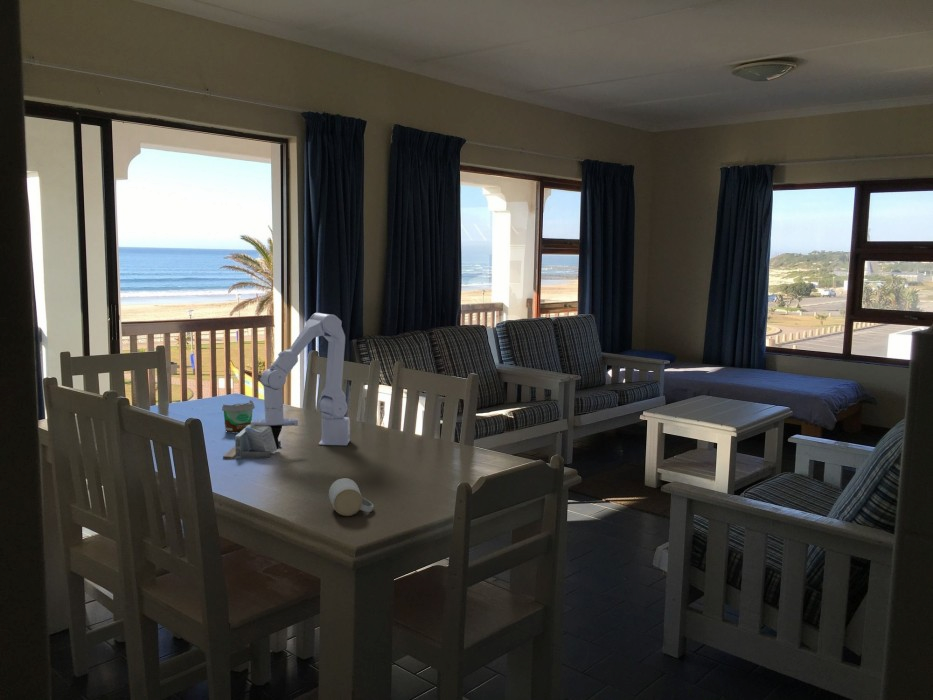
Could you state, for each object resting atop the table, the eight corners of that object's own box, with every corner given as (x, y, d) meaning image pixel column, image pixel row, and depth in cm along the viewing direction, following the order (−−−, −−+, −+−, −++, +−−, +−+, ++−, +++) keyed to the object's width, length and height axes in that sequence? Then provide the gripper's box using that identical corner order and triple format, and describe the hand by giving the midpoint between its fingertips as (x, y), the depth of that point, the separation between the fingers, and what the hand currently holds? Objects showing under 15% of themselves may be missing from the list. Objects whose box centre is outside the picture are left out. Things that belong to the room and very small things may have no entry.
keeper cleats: (280, 446, 247) (280, 440, 247) (270, 458, 232) (270, 452, 232) (253, 445, 247) (253, 440, 247) (240, 458, 232) (240, 451, 232)
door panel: (253, 445, 248) (253, 424, 247) (239, 459, 231) (239, 437, 230) (248, 445, 248) (248, 424, 247) (234, 459, 231) (234, 436, 230)
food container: (232, 435, 260) (232, 407, 259) (222, 432, 264) (221, 404, 263) (261, 429, 270) (261, 402, 269) (251, 427, 274) (251, 400, 273)
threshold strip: (248, 444, 248) (248, 442, 248) (233, 459, 231) (232, 456, 231) (239, 444, 248) (239, 442, 248) (223, 458, 231) (223, 456, 230)
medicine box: (277, 450, 239) (271, 426, 235) (267, 456, 235) (260, 432, 232) (261, 445, 243) (255, 421, 240) (250, 452, 240) (244, 428, 237)
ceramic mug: (333, 519, 181) (334, 488, 180) (328, 508, 189) (328, 478, 188) (376, 516, 185) (377, 485, 184) (369, 505, 192) (370, 476, 191)
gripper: (297, 403, 244) (299, 443, 246) (251, 405, 241) (253, 446, 243) (297, 407, 237) (298, 449, 239) (249, 410, 234) (251, 452, 236)
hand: (275, 448), depth 240 cm, fingers closed, pressing on medicine box
